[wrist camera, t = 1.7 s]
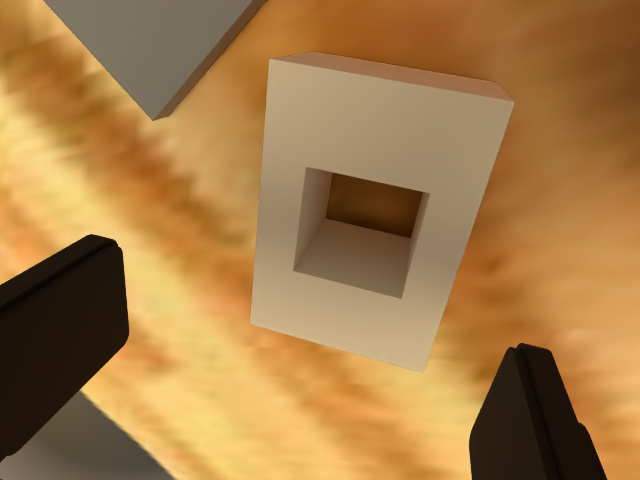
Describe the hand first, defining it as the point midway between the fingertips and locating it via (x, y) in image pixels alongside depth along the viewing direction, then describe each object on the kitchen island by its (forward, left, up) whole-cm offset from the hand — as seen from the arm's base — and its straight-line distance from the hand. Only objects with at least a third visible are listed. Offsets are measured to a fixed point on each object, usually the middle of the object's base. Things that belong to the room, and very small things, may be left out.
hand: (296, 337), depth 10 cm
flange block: (-1, 0, -10) cm, 10 cm away
